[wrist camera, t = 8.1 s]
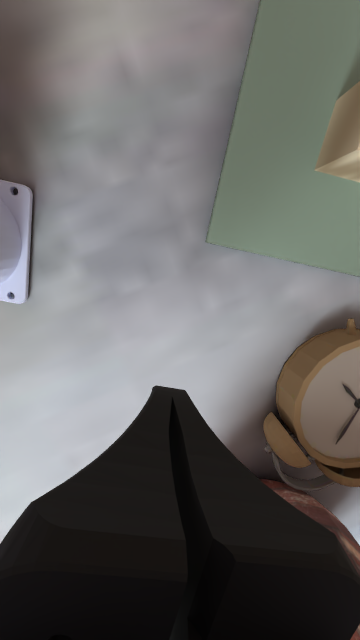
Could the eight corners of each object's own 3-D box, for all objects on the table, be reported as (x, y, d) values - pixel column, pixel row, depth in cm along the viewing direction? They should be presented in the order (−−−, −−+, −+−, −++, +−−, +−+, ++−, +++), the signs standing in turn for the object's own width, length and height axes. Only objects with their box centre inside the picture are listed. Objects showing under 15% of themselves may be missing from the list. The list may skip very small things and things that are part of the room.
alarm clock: (459, 368, 20) (370, 533, 21) (398, 352, 25) (328, 486, 26) (346, 308, 18) (253, 493, 19) (303, 304, 23) (231, 451, 24)
